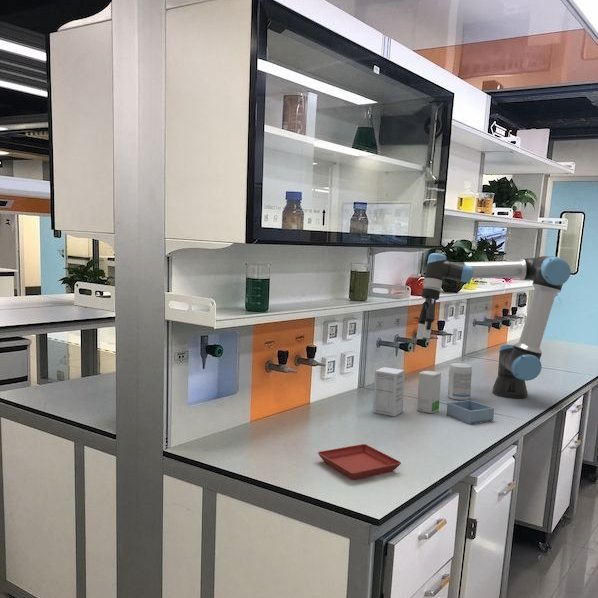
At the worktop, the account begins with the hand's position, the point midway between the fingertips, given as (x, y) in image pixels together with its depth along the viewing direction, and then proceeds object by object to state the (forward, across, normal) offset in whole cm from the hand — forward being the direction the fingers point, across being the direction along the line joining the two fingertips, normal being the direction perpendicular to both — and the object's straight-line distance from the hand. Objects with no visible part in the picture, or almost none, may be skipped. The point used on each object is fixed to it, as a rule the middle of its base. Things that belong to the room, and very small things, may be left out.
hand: (422, 338), depth 246 cm
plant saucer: (+46, +72, -26) cm, 89 cm away
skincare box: (+29, +10, +5) cm, 31 cm away
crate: (+28, +18, +20) cm, 39 cm away
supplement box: (+32, +14, -11) cm, 37 cm away
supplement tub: (+22, -12, +23) cm, 34 cm away
